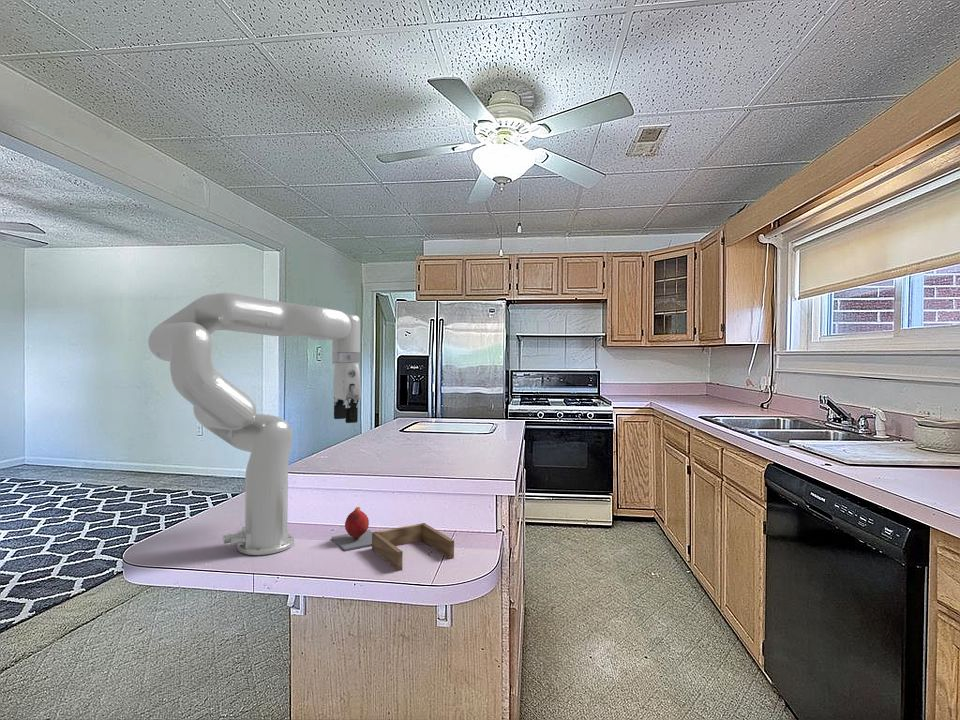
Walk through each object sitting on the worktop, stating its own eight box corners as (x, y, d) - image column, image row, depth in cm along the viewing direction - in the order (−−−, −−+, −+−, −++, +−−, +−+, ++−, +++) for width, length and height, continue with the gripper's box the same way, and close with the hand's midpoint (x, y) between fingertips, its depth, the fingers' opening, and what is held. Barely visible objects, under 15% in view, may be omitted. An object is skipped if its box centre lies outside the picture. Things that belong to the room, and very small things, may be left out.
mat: (344, 551, 124) (344, 549, 124) (331, 538, 132) (331, 536, 132) (384, 543, 129) (384, 541, 129) (369, 531, 138) (369, 529, 138)
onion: (362, 543, 127) (363, 511, 127) (340, 541, 128) (341, 509, 128) (372, 535, 133) (372, 504, 133) (351, 534, 134) (351, 503, 134)
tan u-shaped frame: (398, 570, 113) (398, 552, 113) (371, 549, 125) (372, 532, 125) (453, 557, 121) (454, 540, 121) (424, 538, 133) (424, 522, 133)
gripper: (370, 359, 140) (369, 423, 140) (348, 358, 154) (348, 416, 154) (343, 359, 136) (342, 425, 136) (323, 358, 150) (322, 418, 150)
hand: (345, 420), depth 145 cm, fingers open, 9 cm apart
